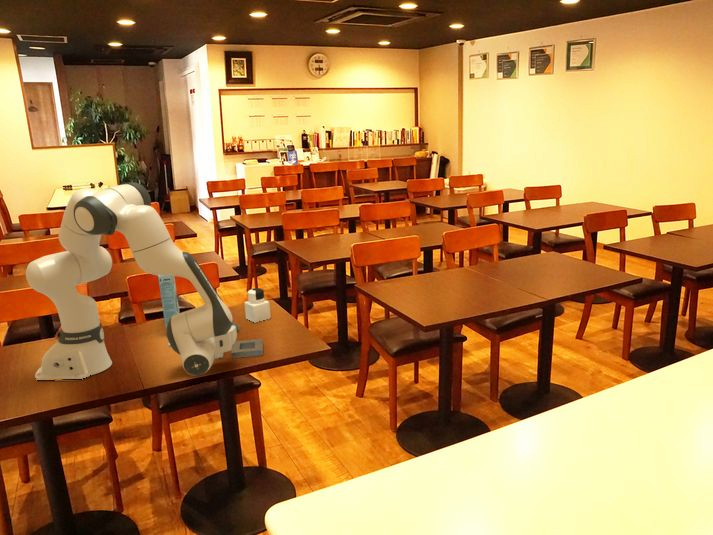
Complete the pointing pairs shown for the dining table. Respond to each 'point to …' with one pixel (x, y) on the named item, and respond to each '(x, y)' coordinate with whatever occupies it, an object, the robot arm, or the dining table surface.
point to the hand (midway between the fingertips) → (206, 327)
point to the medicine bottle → (257, 306)
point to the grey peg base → (240, 346)
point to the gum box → (168, 297)
